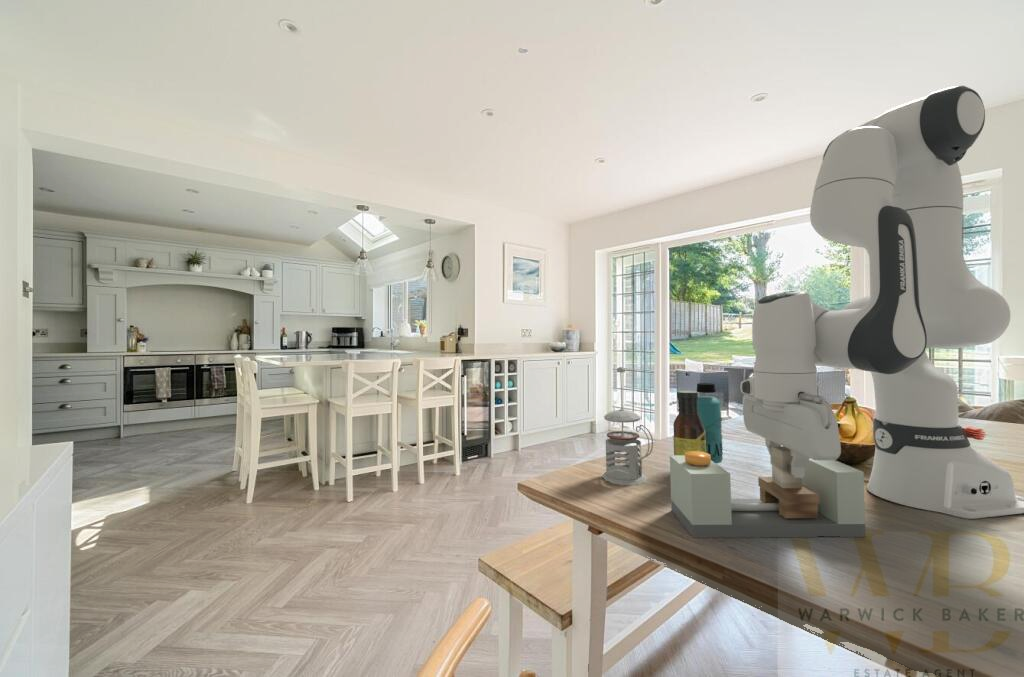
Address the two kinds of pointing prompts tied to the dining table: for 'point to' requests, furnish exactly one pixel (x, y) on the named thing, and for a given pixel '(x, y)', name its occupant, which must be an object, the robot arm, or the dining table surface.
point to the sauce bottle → (688, 425)
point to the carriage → (787, 488)
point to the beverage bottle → (711, 420)
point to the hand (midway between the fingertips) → (787, 471)
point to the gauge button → (697, 458)
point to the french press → (624, 449)
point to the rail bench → (715, 514)
